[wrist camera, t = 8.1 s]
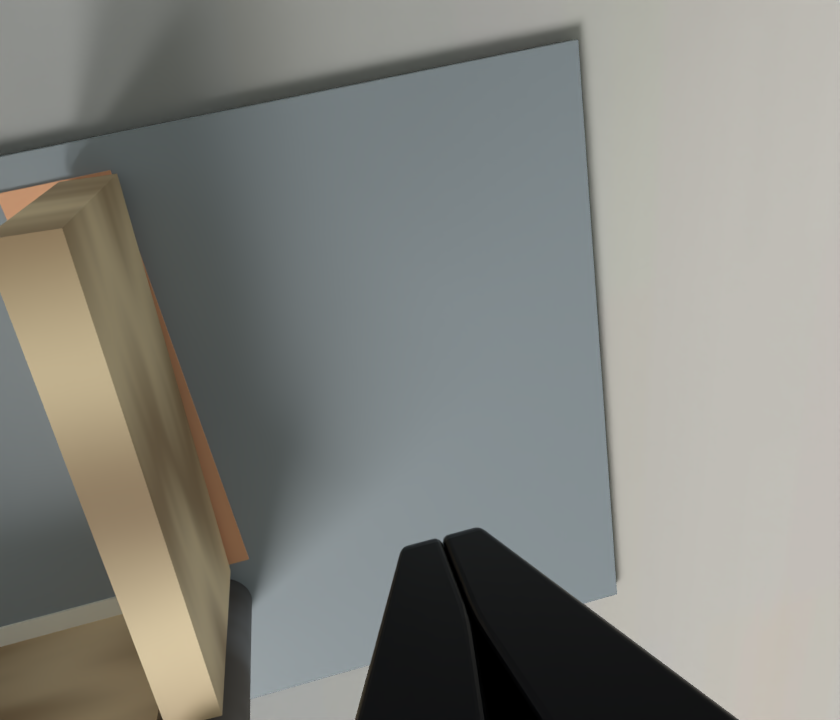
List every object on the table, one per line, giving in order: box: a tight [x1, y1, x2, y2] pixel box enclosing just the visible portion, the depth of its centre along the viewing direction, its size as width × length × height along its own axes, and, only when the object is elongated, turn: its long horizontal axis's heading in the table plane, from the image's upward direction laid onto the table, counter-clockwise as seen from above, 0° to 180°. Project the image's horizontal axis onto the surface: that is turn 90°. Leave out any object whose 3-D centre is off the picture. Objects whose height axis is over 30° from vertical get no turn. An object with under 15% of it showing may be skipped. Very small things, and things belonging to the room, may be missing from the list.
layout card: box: [0, 40, 617, 699], centre depth 19 cm, size 24×17×1 cm
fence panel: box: [0, 174, 231, 720], centre depth 16 cm, size 11×1×5 cm, turn 6°
